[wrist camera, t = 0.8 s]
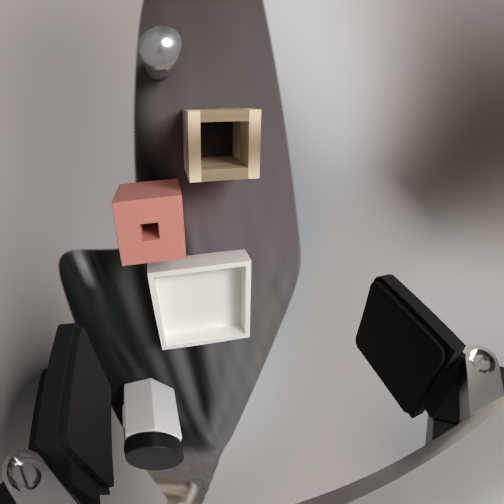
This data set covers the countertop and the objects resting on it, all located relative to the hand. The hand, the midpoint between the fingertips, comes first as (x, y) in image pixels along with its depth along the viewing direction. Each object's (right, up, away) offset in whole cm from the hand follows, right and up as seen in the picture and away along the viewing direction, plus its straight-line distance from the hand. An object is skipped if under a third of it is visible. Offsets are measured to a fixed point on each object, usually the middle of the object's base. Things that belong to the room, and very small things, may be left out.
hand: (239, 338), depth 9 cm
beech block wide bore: (-3, +14, +20) cm, 25 cm away
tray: (-6, -3, +28) cm, 29 cm away
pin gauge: (-8, +20, +15) cm, 27 cm away
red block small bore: (-10, +7, +22) cm, 25 cm away
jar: (-16, -20, +34) cm, 42 cm away
